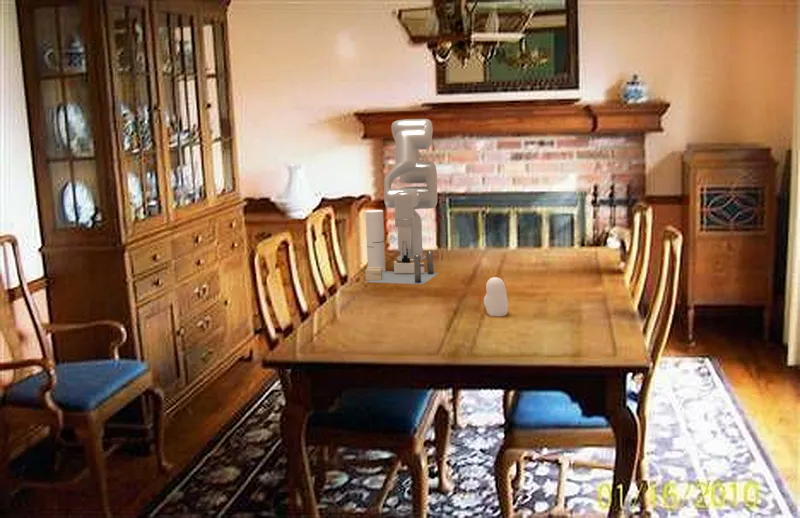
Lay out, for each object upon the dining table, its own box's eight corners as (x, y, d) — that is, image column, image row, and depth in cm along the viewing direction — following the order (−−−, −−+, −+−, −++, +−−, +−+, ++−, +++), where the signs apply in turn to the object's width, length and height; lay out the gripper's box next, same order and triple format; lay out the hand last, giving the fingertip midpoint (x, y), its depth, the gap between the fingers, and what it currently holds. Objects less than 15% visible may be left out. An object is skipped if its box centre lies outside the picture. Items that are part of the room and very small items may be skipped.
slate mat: (385, 272, 372) (385, 271, 372) (439, 274, 365) (439, 272, 365) (366, 283, 353) (366, 282, 353) (423, 285, 345) (423, 284, 345)
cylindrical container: (385, 273, 371) (382, 211, 366) (367, 273, 371) (364, 212, 367) (385, 269, 378) (383, 209, 373) (368, 270, 378) (365, 210, 374)
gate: (424, 272, 365) (424, 260, 364) (424, 273, 363) (423, 261, 363) (394, 272, 367) (394, 261, 366) (394, 273, 365) (393, 261, 365)
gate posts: (428, 272, 365) (427, 246, 363) (434, 273, 364) (434, 246, 362) (413, 282, 348) (412, 255, 346) (420, 283, 347) (419, 255, 345)
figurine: (501, 309, 305) (500, 274, 302) (512, 314, 298) (511, 278, 295) (482, 312, 302) (481, 276, 300) (492, 317, 295) (491, 281, 293)
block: (367, 277, 362) (366, 267, 361) (382, 276, 361) (382, 266, 360) (365, 280, 356) (365, 270, 355) (381, 280, 355) (380, 270, 355)
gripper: (396, 220, 373) (397, 264, 376) (393, 225, 358) (395, 271, 361) (414, 219, 372) (416, 264, 376) (413, 225, 358) (414, 271, 361)
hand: (406, 267), depth 369 cm, fingers closed
